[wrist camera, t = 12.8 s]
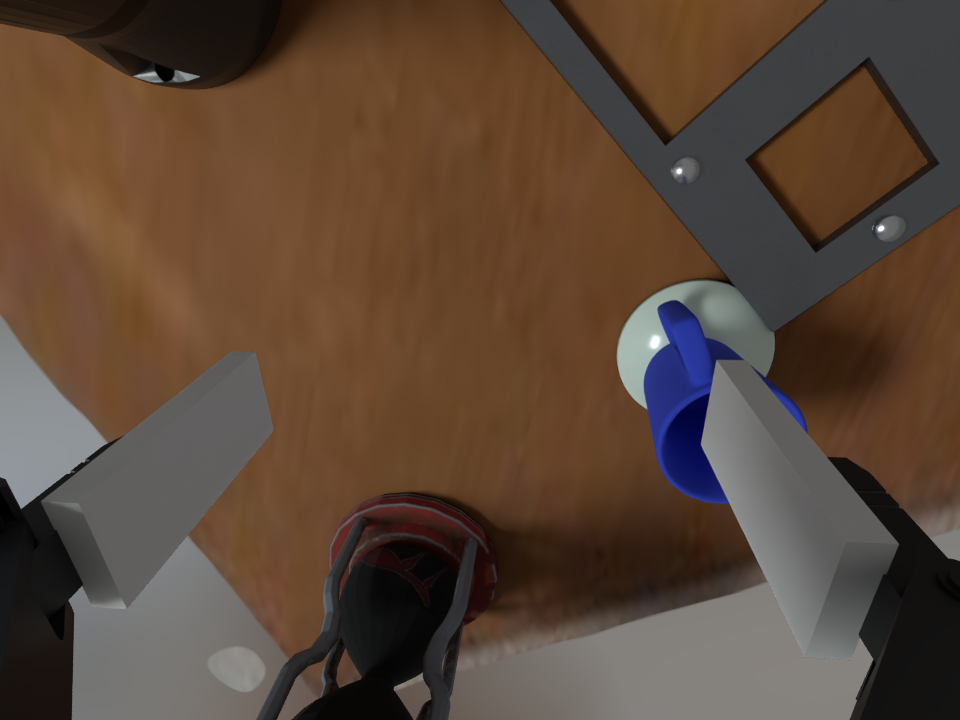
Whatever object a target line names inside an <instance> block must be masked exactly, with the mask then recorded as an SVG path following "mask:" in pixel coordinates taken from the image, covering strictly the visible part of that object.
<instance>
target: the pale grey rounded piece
mask: <svg viewBox="0 0 960 720" xmlns="http://www.w3.org/2000/svg"><path fill="white" fill-rule="evenodd" d="M670 300H677V301H680V302H681V303H682V304H684V305H685V306H686V307H687V308H688V309H689V310H690V311H691V312H692V313H693V314H694V315H695V316H696V317H697V319H698V320H699V322H700V325H701V327H702V330H703V333H704V336H705V337H706V338H710V339H714V340H717V341H719V342H721V343H723V344H725V345H727V346H728V347H729V348H731V349H732V350H733V351H735V352H736V353H737V354H738V355H739V356H740V357H742V358H743V359H744V360H746V361H747V362H748V363H749V364H750V365H751V366H752V367H754V368H755V369H756V370H757V371H758V372H760V373H761V374H762V375H763V376H764V377H766V375H767V373H768V371H769V369H770V367H771V364H772V361H773V357H774V351H775V337H774V332H772V331H771V330H770V328H769V327H768V326H767V325H766V324H765V322H764V321H763V320H762V319H761V318H760V316H759V315H758V314H757V313H756V311H755V310H754V309H753V308H752V307H751V305H750V304H749V303H748V302H747V300H746V299H745V298H744V297H743V296H742V294H741V293H740V292H739V291H738V289H737V288H736V287H734V286H733V285H731V284H729V283H726V282H722V281H718V280H711V279H692V280H685V281H681V282H677V283H673V284H671V285H668V286H666V287H663V288H662V289H660V290H658V291H656V292H654V293H653V294H651V295H650V296H648V297H647V298H646V299H644V300H643V301H642V302H641V303H640V304H639V305H638V306H637V307H636V308H635V309H634V310H633V311H632V313H631V314H630V315H629V317H628V318H627V320H626V322H625V324H624V326H623V327H622V330H621V332H620V335H619V338H618V343H617V353H616V357H617V365H618V369H619V373H620V377H621V379H622V381H623V384H624V386H625V387H626V389H627V391H628V392H629V393H630V395H631V396H632V397H633V398H634V399H635V400H636V401H637V402H638V403H639V404H640V405H642V406H643V407H644V408H646V409H647V405H646V400H645V395H644V386H643V384H644V376H645V372H646V369H647V366H648V364H649V363H650V361H651V359H652V358H653V357H654V355H655V354H656V353H657V352H658V351H659V350H660V349H662V348H663V347H664V346H666V345H668V344H669V343H670V342H669V340H668V338H667V336H666V333H665V331H664V329H663V326H662V324H661V321H660V318H659V315H658V311H657V309H658V307H659V305H661V304H663V303H665V302H667V301H670Z"/></svg>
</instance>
